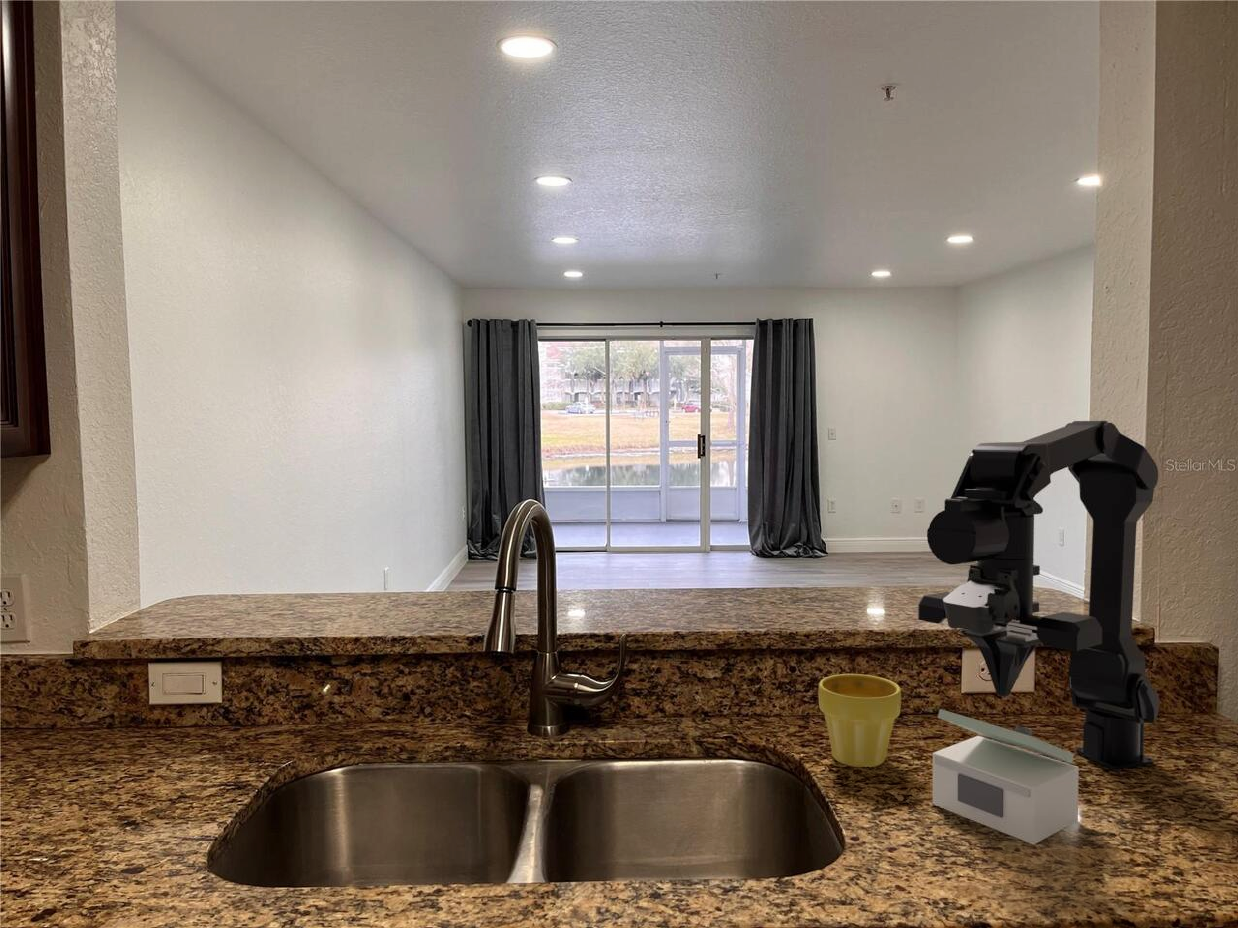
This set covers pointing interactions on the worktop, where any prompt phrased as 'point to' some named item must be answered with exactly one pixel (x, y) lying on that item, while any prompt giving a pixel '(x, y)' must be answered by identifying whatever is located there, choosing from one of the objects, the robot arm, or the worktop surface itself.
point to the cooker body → (1006, 788)
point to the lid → (1007, 735)
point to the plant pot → (859, 716)
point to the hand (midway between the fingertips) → (1002, 695)
